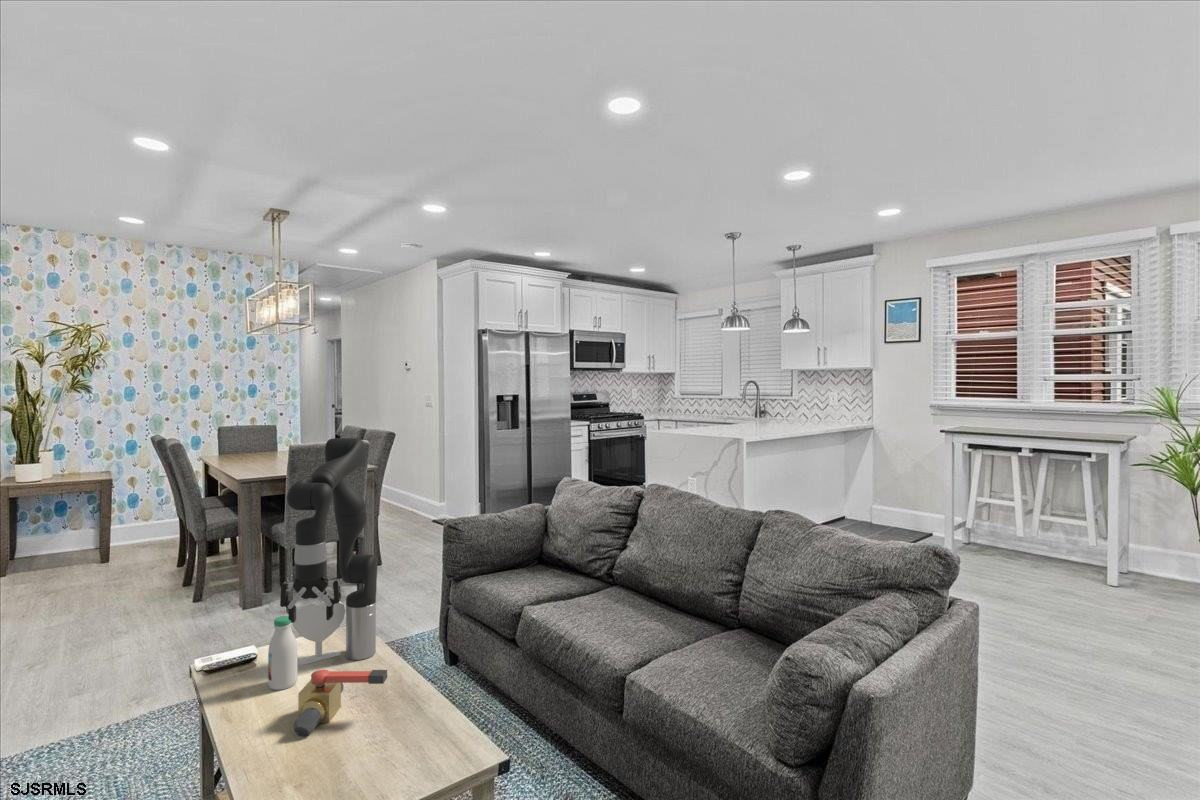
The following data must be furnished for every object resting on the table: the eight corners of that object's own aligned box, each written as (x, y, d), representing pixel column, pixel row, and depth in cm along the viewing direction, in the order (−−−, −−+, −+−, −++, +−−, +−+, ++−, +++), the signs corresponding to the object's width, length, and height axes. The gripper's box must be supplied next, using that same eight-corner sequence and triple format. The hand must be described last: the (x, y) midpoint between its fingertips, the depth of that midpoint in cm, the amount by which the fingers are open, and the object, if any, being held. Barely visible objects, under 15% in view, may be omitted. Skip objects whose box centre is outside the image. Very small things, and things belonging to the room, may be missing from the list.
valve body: (320, 696, 175) (320, 665, 175) (348, 695, 175) (348, 665, 175) (287, 736, 155) (287, 701, 155) (319, 735, 155) (319, 701, 155)
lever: (308, 685, 163) (308, 677, 163) (315, 677, 167) (315, 669, 167) (382, 684, 163) (382, 676, 163) (387, 676, 168) (387, 668, 168)
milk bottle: (302, 678, 185) (302, 614, 184) (287, 691, 177) (287, 624, 177) (278, 677, 186) (278, 612, 185) (262, 690, 178) (262, 622, 177)
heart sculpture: (341, 648, 206) (341, 596, 206) (345, 653, 202) (345, 600, 202) (291, 660, 197) (291, 606, 196) (294, 666, 193) (294, 610, 192)
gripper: (342, 553, 163) (343, 613, 164) (285, 556, 160) (286, 616, 161) (336, 562, 156) (337, 624, 156) (276, 564, 153) (277, 628, 153)
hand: (311, 620), depth 159 cm, fingers open, 8 cm apart
